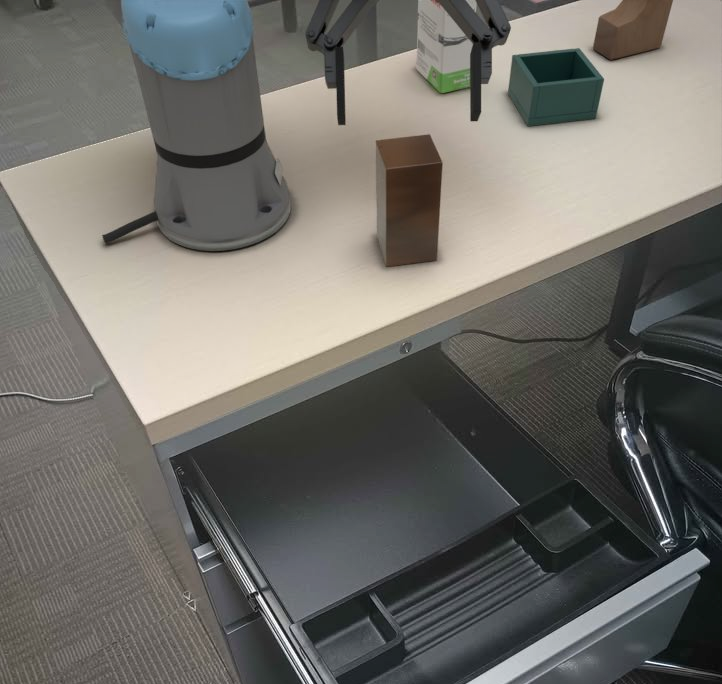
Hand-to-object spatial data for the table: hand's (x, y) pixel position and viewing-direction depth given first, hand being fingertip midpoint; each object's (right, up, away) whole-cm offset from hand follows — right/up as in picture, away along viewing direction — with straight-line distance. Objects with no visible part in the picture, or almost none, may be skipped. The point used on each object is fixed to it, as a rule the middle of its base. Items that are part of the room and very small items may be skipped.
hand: (408, 119), depth 77 cm
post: (0, -12, +5) cm, 13 cm away
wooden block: (+34, +26, +34) cm, 54 cm away
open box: (+20, +13, +24) cm, 34 cm away
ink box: (+7, +19, +29) cm, 36 cm away
